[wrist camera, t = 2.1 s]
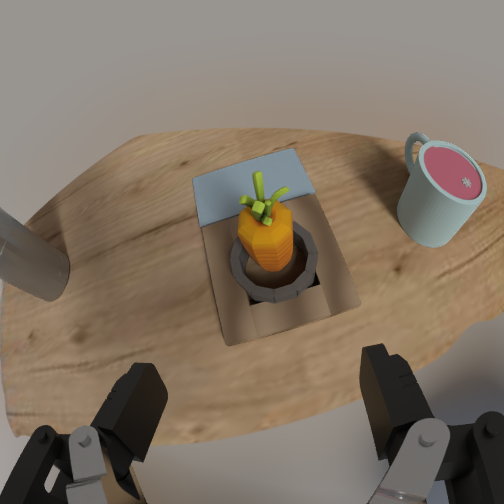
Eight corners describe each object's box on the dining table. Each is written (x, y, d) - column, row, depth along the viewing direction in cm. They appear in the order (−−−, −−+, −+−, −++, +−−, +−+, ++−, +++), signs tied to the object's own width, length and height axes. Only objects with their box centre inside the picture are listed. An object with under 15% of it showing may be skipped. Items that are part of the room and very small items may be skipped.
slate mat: (201, 228, 36) (200, 226, 36) (193, 180, 40) (192, 178, 40) (315, 193, 35) (315, 191, 35) (293, 149, 39) (293, 147, 39)
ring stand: (229, 346, 29) (220, 343, 26) (205, 233, 36) (196, 219, 32) (358, 306, 28) (365, 298, 25) (314, 199, 35) (314, 183, 32)
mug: (463, 239, 28) (498, 198, 20) (412, 254, 29) (445, 211, 20) (422, 163, 35) (440, 116, 26) (374, 170, 35) (386, 117, 26)
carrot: (265, 242, 33) (240, 156, 20) (303, 256, 32) (301, 171, 18) (248, 278, 32) (208, 207, 19) (287, 293, 30) (274, 228, 17)
